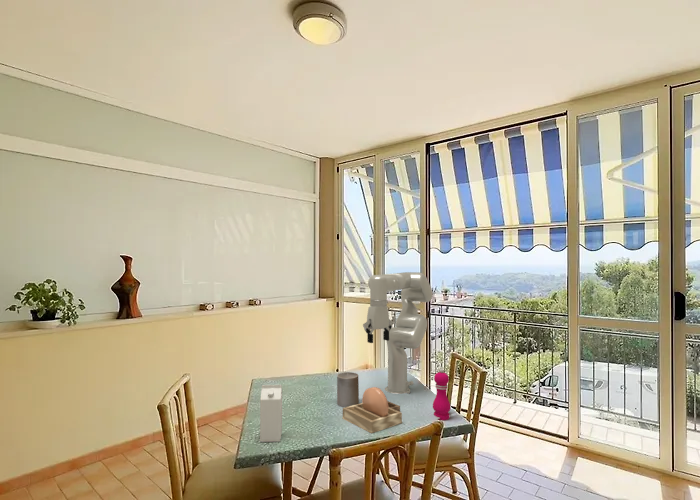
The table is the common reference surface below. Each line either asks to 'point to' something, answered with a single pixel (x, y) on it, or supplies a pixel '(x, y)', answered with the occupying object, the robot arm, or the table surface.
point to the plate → (375, 402)
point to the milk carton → (271, 413)
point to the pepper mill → (441, 396)
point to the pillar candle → (347, 389)
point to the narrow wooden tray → (393, 406)
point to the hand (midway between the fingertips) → (378, 341)
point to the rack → (371, 418)
